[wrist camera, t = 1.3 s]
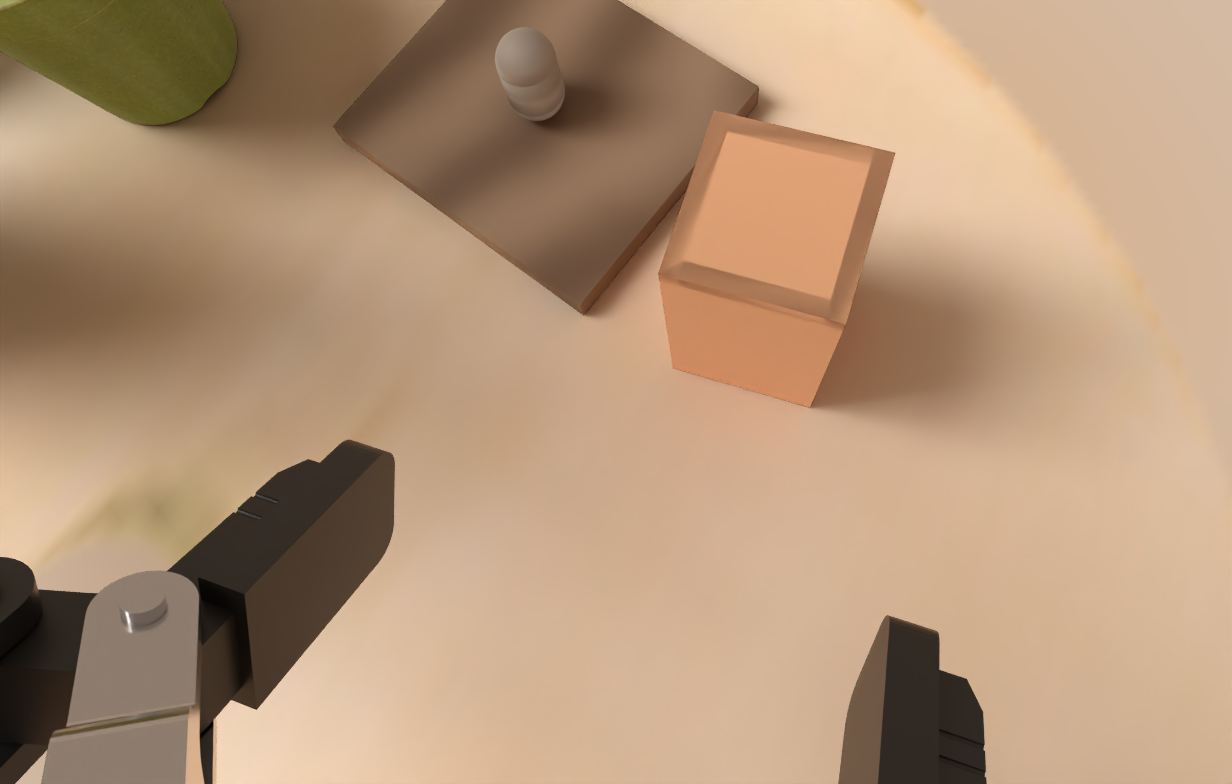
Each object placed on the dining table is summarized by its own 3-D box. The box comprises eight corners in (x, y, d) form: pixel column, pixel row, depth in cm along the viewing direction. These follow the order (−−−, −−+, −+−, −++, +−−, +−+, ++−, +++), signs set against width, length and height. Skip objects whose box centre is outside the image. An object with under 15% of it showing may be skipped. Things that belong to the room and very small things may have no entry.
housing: (673, 368, 36) (658, 273, 27) (713, 243, 37) (714, 110, 28) (810, 407, 35) (846, 324, 26) (847, 278, 36) (895, 152, 27)
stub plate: (343, 140, 40) (286, 64, 35) (513, -49, 42) (483, -150, 37) (583, 315, 37) (561, 261, 32) (757, 103, 39) (764, 16, 33)
